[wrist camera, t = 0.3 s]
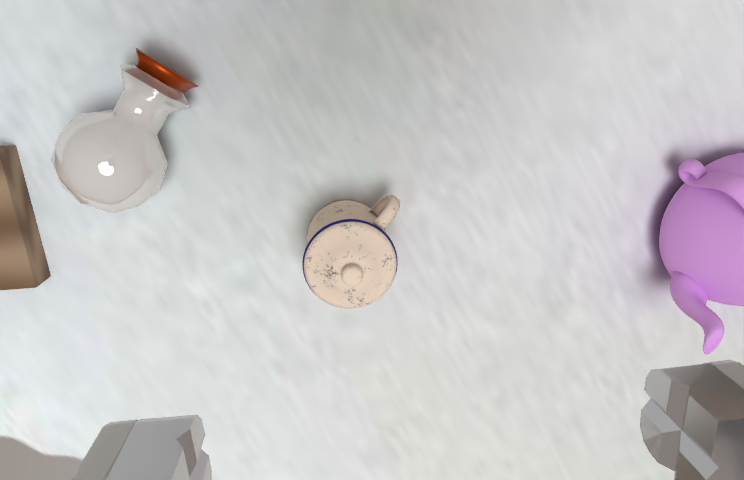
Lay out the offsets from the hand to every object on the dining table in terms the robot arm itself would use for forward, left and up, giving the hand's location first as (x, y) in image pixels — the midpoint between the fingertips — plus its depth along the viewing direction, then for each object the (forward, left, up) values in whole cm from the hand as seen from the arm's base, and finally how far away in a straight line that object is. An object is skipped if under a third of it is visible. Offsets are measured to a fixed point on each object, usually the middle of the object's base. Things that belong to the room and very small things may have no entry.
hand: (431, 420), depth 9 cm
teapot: (+15, +42, -48) cm, 65 cm away
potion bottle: (-1, -20, -48) cm, 52 cm away
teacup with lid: (+11, +1, -47) cm, 49 cm away
